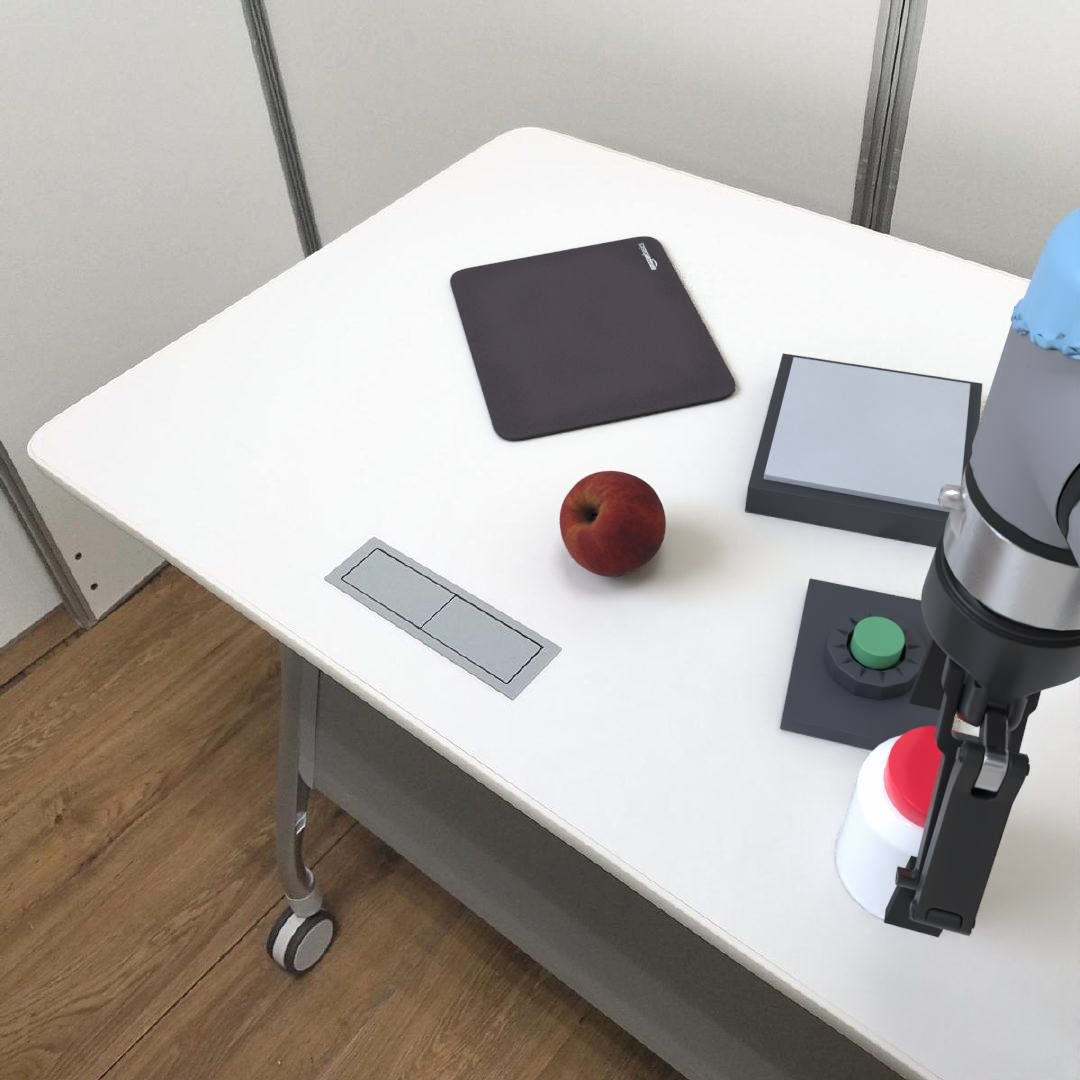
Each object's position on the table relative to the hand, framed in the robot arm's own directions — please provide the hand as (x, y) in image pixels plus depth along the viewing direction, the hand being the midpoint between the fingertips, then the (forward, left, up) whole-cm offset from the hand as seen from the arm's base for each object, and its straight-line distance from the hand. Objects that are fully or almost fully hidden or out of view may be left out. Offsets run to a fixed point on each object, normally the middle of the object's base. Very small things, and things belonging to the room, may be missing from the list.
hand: (923, 806), depth 60 cm
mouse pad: (+46, -29, -7) cm, 54 cm away
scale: (+18, -29, -7) cm, 34 cm away
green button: (+8, -11, -4) cm, 14 cm away
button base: (+8, -11, -7) cm, 15 cm away
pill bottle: (0, 0, -7) cm, 7 cm away
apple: (+28, -9, -7) cm, 30 cm away
